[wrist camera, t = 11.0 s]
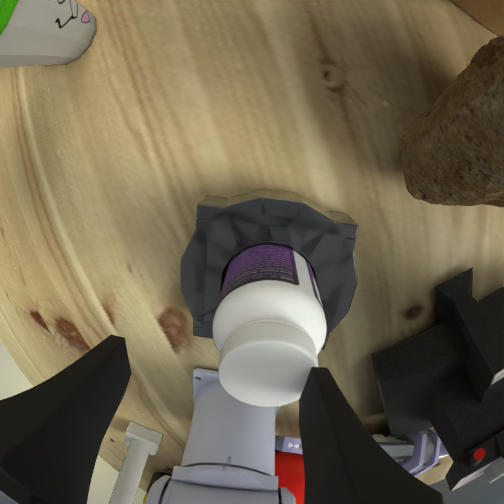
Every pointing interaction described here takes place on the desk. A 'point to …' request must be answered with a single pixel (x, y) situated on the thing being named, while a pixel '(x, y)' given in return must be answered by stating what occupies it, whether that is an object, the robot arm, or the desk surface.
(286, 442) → the toy gun
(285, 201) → the grey hollow flat block
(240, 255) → the pill bottle
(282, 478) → the tomato
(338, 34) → the desk surface
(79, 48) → the cup
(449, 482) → the camera
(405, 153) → the stone
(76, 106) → the desk surface
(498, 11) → the steamer basket
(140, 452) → the model tower
